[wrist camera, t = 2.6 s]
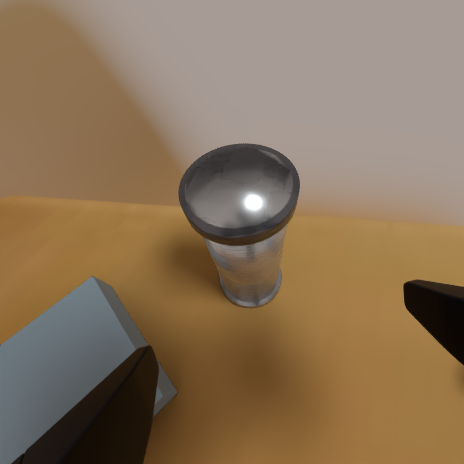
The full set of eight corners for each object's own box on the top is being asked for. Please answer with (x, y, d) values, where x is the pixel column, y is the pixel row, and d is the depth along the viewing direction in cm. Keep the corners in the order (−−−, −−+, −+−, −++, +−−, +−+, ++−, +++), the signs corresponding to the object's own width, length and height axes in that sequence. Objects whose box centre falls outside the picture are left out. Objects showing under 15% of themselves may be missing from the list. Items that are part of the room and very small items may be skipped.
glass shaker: (293, 288, 21) (327, 195, 10) (238, 320, 20) (208, 258, 9) (260, 241, 24) (257, 130, 13) (211, 267, 23) (163, 172, 12)
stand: (177, 392, 18) (163, 395, 15) (25, 549, 14) (-26, 588, 12) (111, 286, 23) (92, 275, 20) (-10, 381, 20) (-51, 383, 17)
